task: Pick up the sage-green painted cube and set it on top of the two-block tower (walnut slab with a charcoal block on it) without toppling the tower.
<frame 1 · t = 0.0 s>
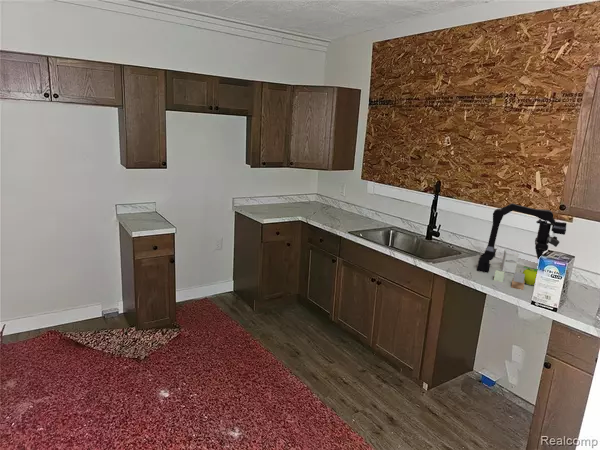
hand: (538, 257, 240), 15 cm above the worktop, fingers open, 9 cm apart
fruit: (529, 284, 236), on the worktop
tower mid: (518, 280, 230), point 4 cm above the worktop, touching tower base
supplement box: (507, 271, 258), on the worktop
tower base: (517, 287, 231), on the worktop, touching tower mid
sage cube: (498, 280, 240), on the worktop
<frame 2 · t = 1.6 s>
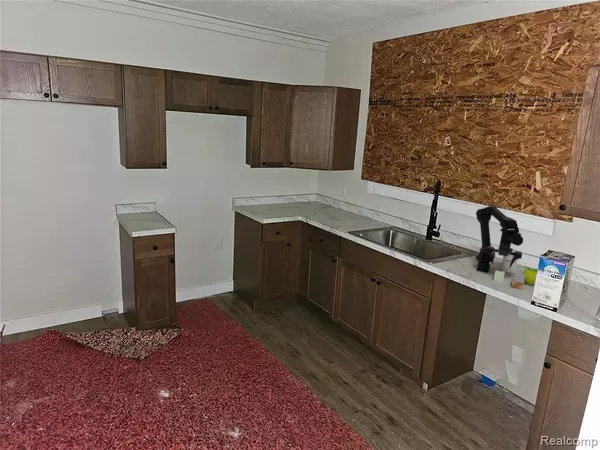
hand: (501, 266, 238), 9 cm above the worktop, fingers open, 9 cm apart
nothing on the worktop moved.
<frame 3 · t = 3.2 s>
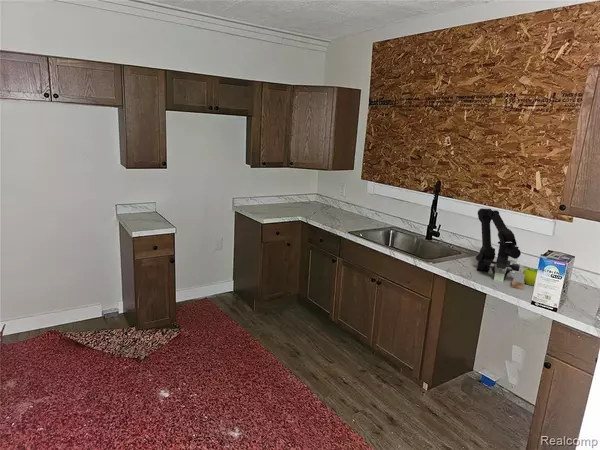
hand: (498, 278, 240), 1 cm above the worktop, fingers closed on sage cube, 5 cm apart
sage cube: (498, 280, 240), on the worktop, touching gripper
everything else where it was.
when the fingers open (10 cm above the worktop, at t = 6.5 s): sage cube drops 1 cm, resting on tower mid.
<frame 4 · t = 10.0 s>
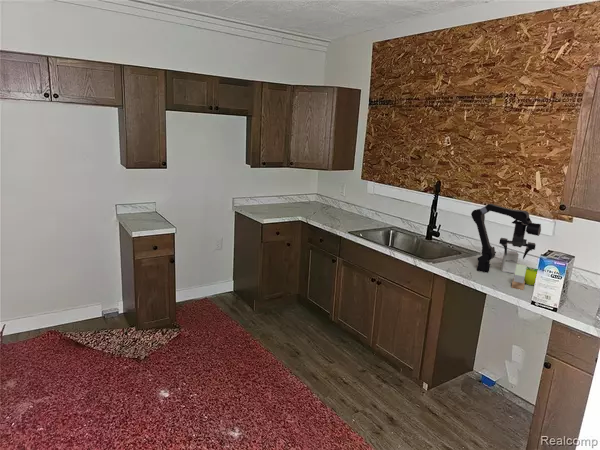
hand: (514, 257, 242), 13 cm above the worktop, fingers open, 9 cm apart
tower mid: (518, 281, 229), point 4 cm above the worktop, touching sage cube
tower base: (517, 287, 230), on the worktop
sage cube: (519, 274, 229), point 8 cm above the worktop, touching tower mid
everything else where it was.
at the end: sage cube 0.1 cm off-centre on the tower base, point 8.0 cm above the tower base's base; tower mid 0.1 cm off-centre on the tower base, point 4.0 cm above the tower base's base; tower mid tilted 0° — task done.
